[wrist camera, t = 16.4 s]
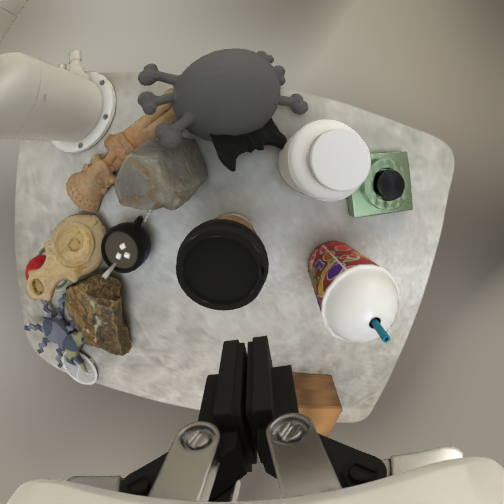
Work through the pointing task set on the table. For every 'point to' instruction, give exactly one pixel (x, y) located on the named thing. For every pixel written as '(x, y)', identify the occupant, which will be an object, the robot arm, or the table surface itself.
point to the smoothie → (353, 293)
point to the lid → (321, 416)
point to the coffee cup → (222, 263)
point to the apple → (38, 262)
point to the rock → (99, 313)
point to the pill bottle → (325, 160)
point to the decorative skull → (223, 102)
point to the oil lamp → (68, 255)
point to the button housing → (366, 196)
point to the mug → (125, 247)
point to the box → (315, 390)
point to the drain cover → (77, 371)
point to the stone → (160, 175)
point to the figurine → (114, 158)
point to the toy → (61, 335)
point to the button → (389, 184)
